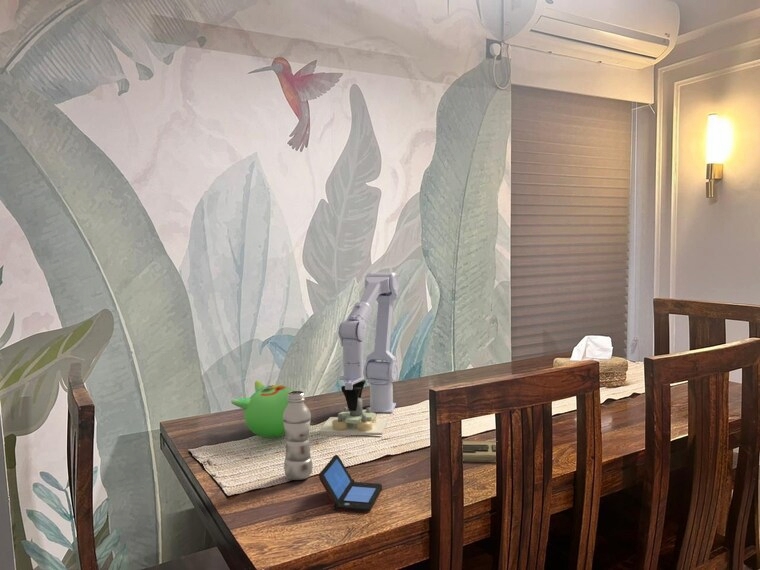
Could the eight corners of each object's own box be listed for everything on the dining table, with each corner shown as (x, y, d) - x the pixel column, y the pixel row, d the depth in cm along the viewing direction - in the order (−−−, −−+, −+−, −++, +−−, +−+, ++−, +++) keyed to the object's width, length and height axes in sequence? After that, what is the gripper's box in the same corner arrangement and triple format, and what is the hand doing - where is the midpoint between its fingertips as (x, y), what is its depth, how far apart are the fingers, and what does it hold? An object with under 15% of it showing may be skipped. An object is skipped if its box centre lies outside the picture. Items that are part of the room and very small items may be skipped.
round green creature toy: (290, 447, 153) (288, 393, 151) (231, 444, 156) (228, 391, 155) (311, 426, 170) (310, 377, 169) (258, 423, 174) (256, 375, 172)
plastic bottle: (299, 469, 138) (296, 387, 136) (318, 476, 133) (316, 391, 132) (278, 478, 133) (275, 393, 131) (298, 486, 128) (295, 398, 127)
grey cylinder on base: (344, 412, 173) (344, 394, 173) (376, 413, 171) (376, 395, 171) (335, 422, 163) (334, 403, 163) (369, 424, 161) (368, 404, 161)
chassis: (330, 420, 175) (329, 404, 175) (388, 421, 173) (388, 405, 172) (319, 434, 163) (318, 417, 162) (382, 436, 160) (381, 418, 159)
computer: (437, 463, 141) (437, 449, 141) (438, 451, 149) (438, 438, 149) (503, 464, 139) (503, 451, 139) (500, 452, 147) (500, 439, 147)
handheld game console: (369, 515, 115) (368, 478, 114) (318, 510, 117) (317, 475, 117) (383, 488, 127) (382, 455, 126) (336, 484, 129) (335, 452, 129)
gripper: (344, 356, 174) (346, 400, 175) (333, 367, 159) (335, 415, 161) (367, 356, 173) (368, 401, 174) (358, 367, 158) (359, 415, 159)
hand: (354, 408), depth 167 cm, fingers open, 4 cm apart
